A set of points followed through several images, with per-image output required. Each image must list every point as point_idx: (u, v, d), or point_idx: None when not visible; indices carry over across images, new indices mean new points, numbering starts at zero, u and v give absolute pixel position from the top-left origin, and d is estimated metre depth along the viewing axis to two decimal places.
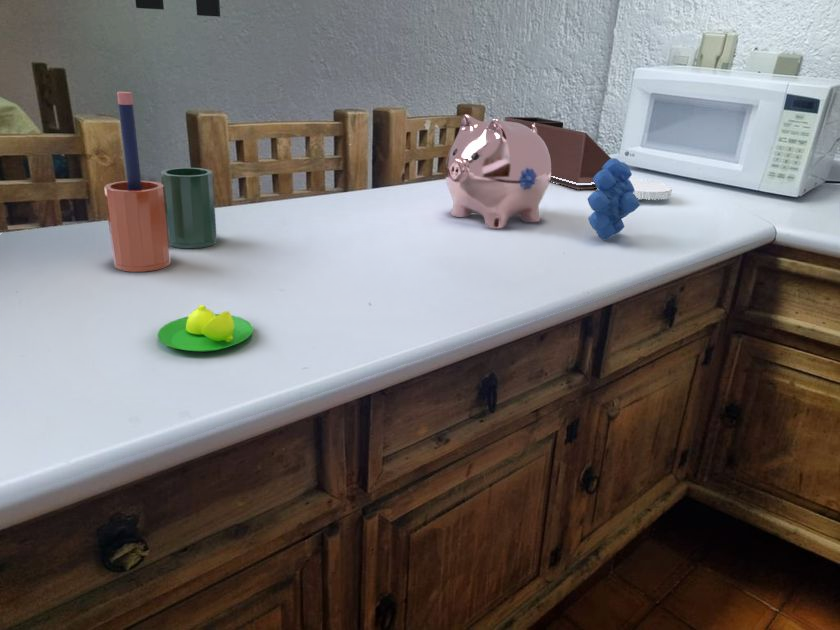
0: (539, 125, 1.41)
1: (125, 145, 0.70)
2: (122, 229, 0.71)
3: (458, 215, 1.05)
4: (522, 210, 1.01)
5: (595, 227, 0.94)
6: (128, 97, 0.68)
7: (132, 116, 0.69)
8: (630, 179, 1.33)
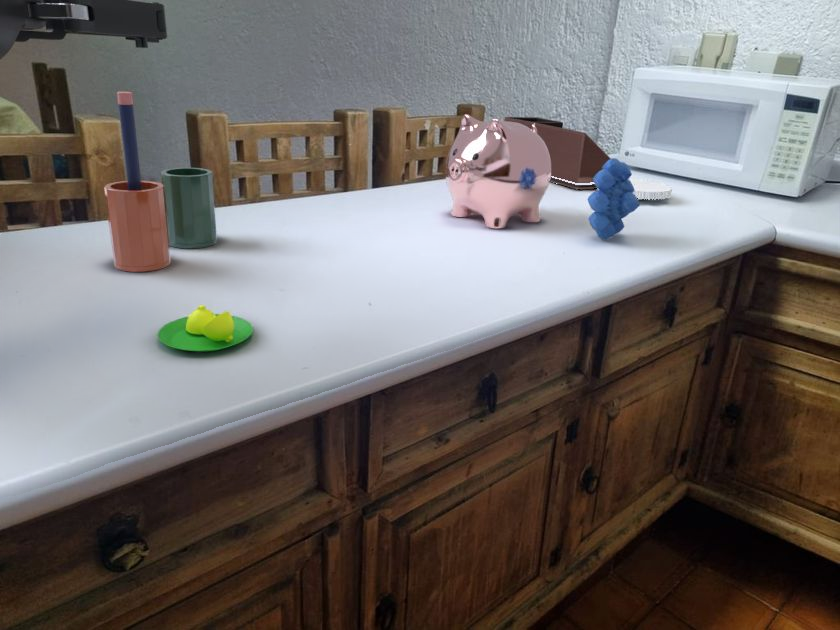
0: (538, 125, 1.41)
1: (125, 145, 0.70)
2: (122, 229, 0.71)
3: (458, 215, 1.05)
4: (522, 210, 1.01)
5: (595, 227, 0.94)
6: (128, 97, 0.68)
7: (132, 116, 0.69)
8: (630, 179, 1.33)
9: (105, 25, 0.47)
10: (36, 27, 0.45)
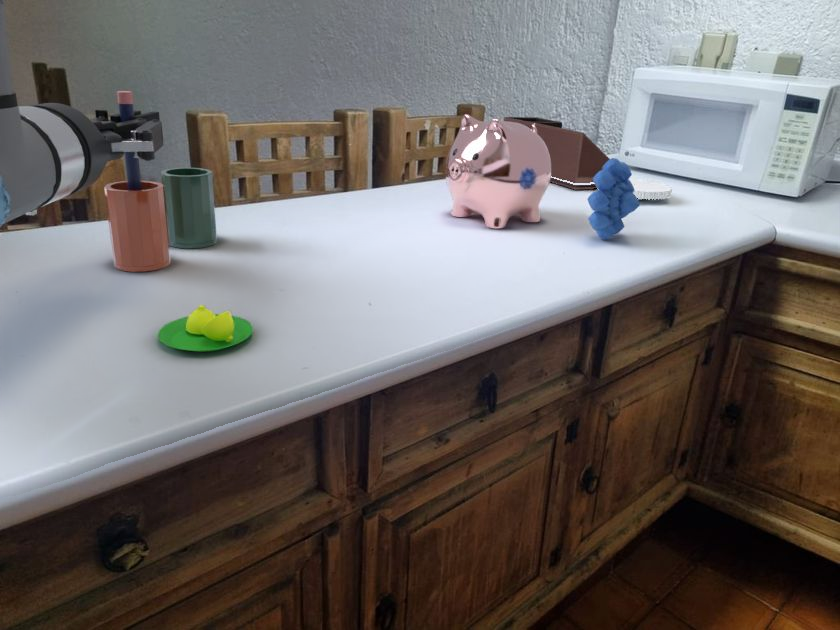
0: (537, 125, 1.41)
1: None
2: (122, 229, 0.71)
3: (458, 215, 1.05)
4: (522, 210, 1.01)
5: (595, 227, 0.94)
6: (128, 96, 0.68)
7: (132, 115, 0.69)
8: (630, 179, 1.33)
9: None
10: (116, 159, 0.59)
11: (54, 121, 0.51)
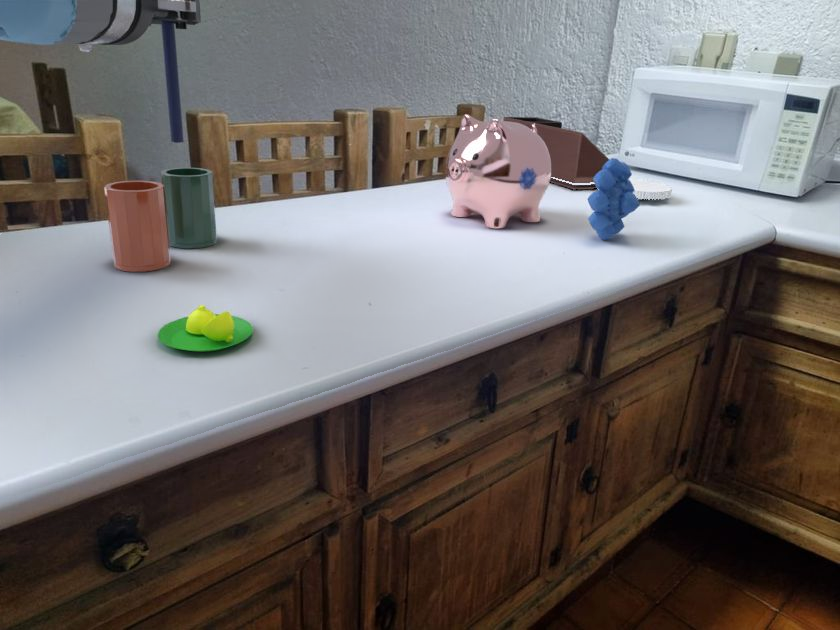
0: (537, 125, 1.41)
1: (163, 24, 0.73)
2: (122, 229, 0.71)
3: (458, 215, 1.05)
4: (522, 210, 1.01)
5: (595, 227, 0.94)
6: None
7: None
8: (630, 179, 1.33)
9: None
10: (161, 16, 0.62)
11: None
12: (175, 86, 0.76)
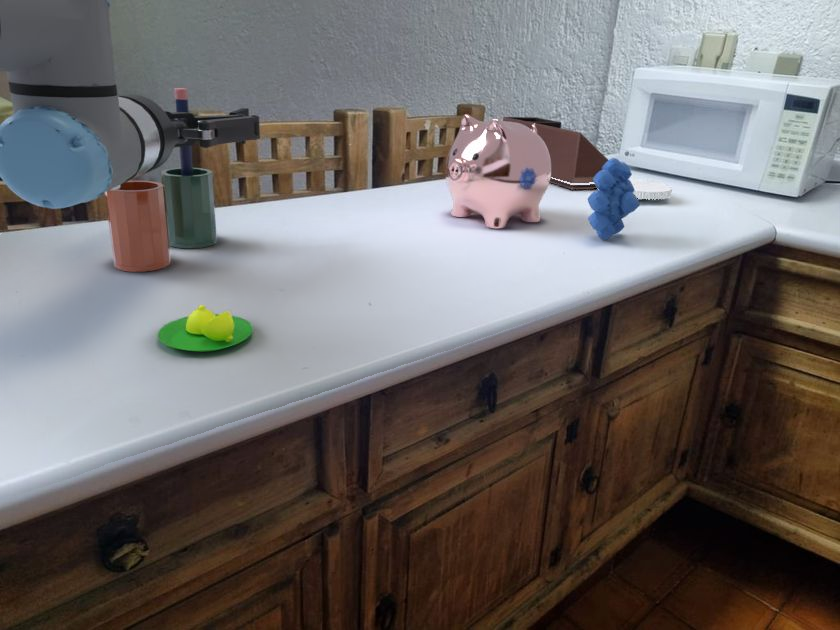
0: (536, 125, 1.41)
1: None
2: (122, 229, 0.71)
3: (458, 215, 1.05)
4: (522, 210, 1.01)
5: (595, 227, 0.94)
6: (184, 92, 0.78)
7: (187, 110, 0.78)
8: (630, 179, 1.33)
9: (223, 138, 0.70)
10: (181, 143, 0.68)
11: (137, 109, 0.60)
12: None
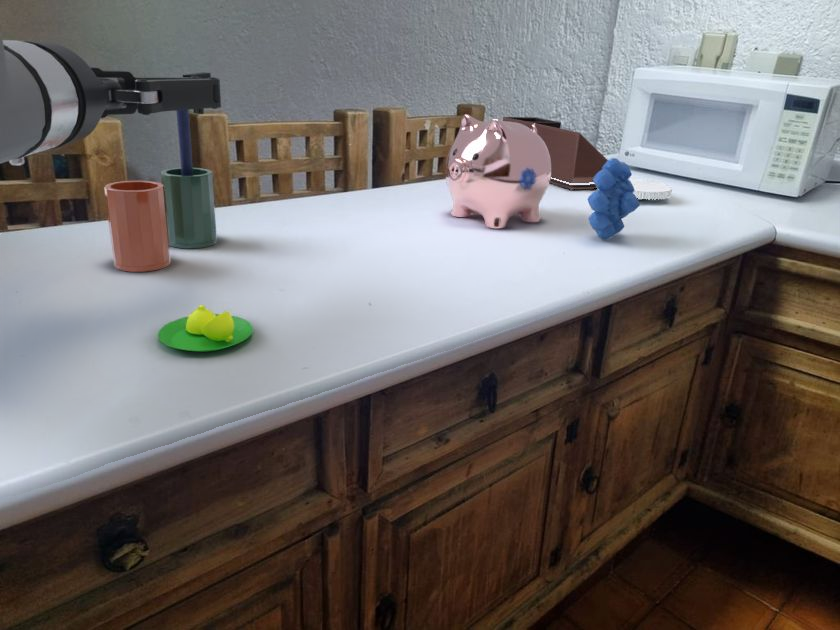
0: (535, 125, 1.41)
1: (180, 135, 0.79)
2: (122, 229, 0.71)
3: (458, 215, 1.05)
4: (522, 210, 1.01)
5: (595, 227, 0.94)
6: None
7: (187, 110, 0.78)
8: (630, 179, 1.33)
9: (171, 104, 0.55)
10: (114, 109, 0.53)
11: (43, 56, 0.45)
12: None
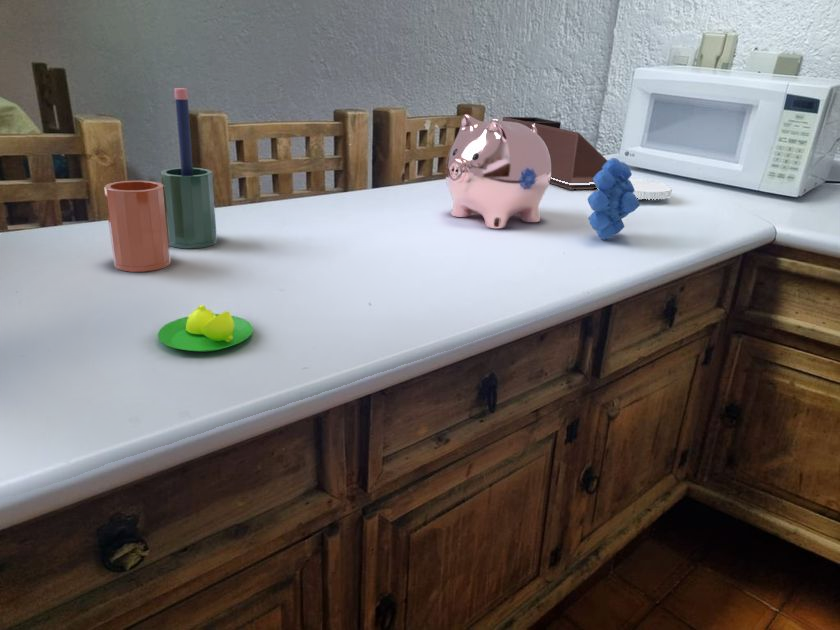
0: None
1: (180, 135, 0.79)
2: (122, 229, 0.71)
3: (458, 215, 1.05)
4: (522, 210, 1.01)
5: (595, 227, 0.94)
6: (184, 92, 0.78)
7: (187, 110, 0.78)
8: (630, 179, 1.33)
9: None
10: None
11: None
12: None
